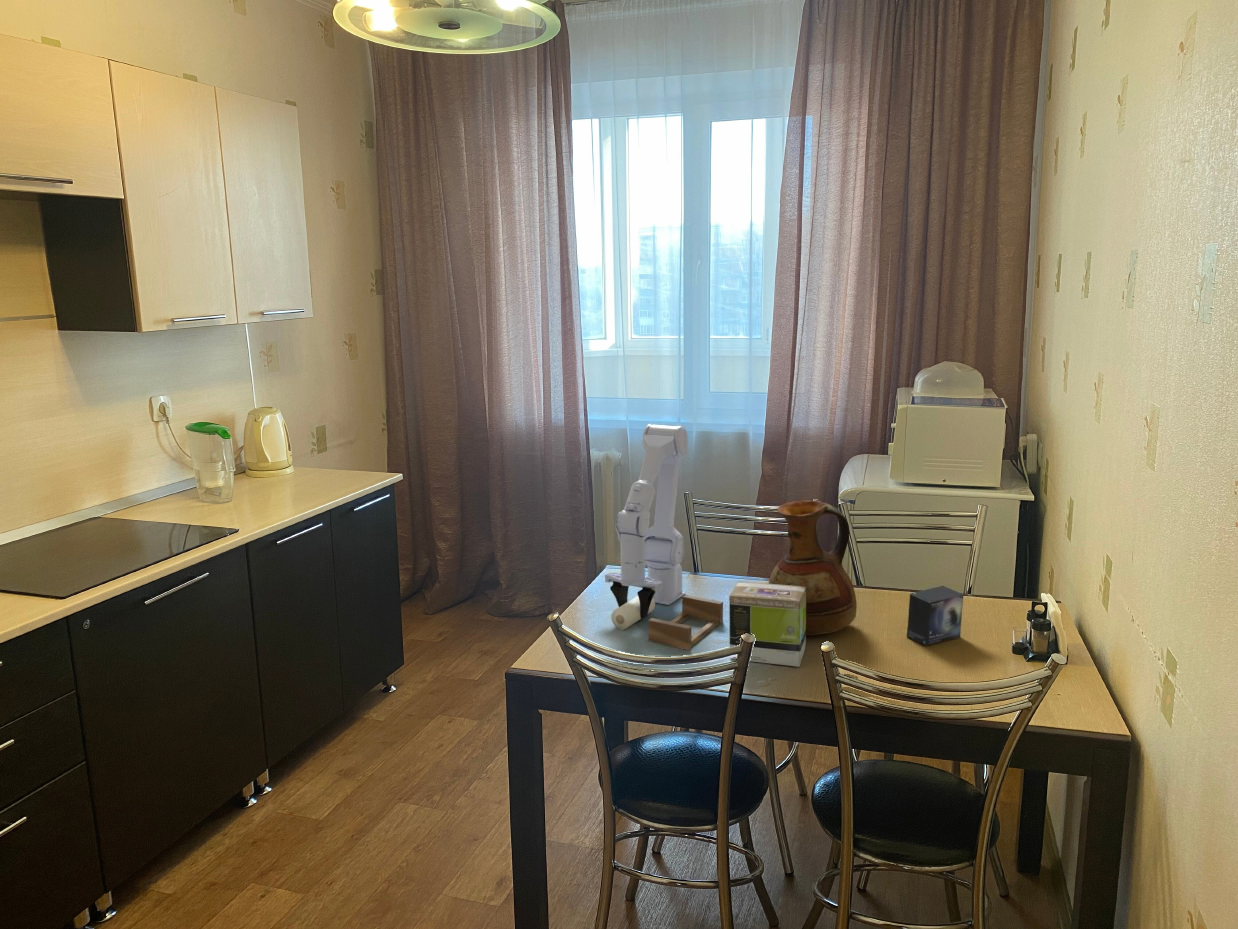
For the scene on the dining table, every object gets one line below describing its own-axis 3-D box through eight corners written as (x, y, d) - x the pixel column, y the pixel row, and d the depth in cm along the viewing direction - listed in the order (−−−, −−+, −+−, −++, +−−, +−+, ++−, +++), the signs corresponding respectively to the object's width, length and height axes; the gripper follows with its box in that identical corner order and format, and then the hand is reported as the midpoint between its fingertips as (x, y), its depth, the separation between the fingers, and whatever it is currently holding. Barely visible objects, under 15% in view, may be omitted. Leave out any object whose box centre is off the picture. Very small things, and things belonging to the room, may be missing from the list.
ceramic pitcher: (754, 615, 216) (756, 494, 209) (832, 607, 220) (836, 488, 213) (786, 648, 197) (788, 516, 190) (871, 638, 201) (876, 509, 194)
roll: (643, 615, 220) (634, 596, 220) (659, 608, 217) (649, 589, 218) (617, 632, 210) (607, 613, 210) (632, 625, 207) (622, 606, 207)
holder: (685, 614, 217) (684, 594, 216) (722, 622, 212) (723, 601, 211) (648, 641, 202) (648, 620, 201) (688, 650, 197) (688, 628, 196)
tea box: (806, 649, 196) (807, 585, 193) (799, 669, 187) (801, 601, 184) (737, 641, 201) (738, 578, 198) (728, 660, 192) (728, 594, 189)
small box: (927, 647, 196) (930, 602, 193) (905, 637, 201) (907, 593, 199) (962, 638, 200) (965, 593, 198) (939, 628, 206) (942, 584, 204)
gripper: (597, 560, 211) (599, 614, 214) (651, 569, 204) (652, 626, 207) (613, 552, 217) (614, 605, 220) (666, 561, 210) (666, 615, 213)
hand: (633, 614), depth 214 cm, fingers closed on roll, 5 cm apart
